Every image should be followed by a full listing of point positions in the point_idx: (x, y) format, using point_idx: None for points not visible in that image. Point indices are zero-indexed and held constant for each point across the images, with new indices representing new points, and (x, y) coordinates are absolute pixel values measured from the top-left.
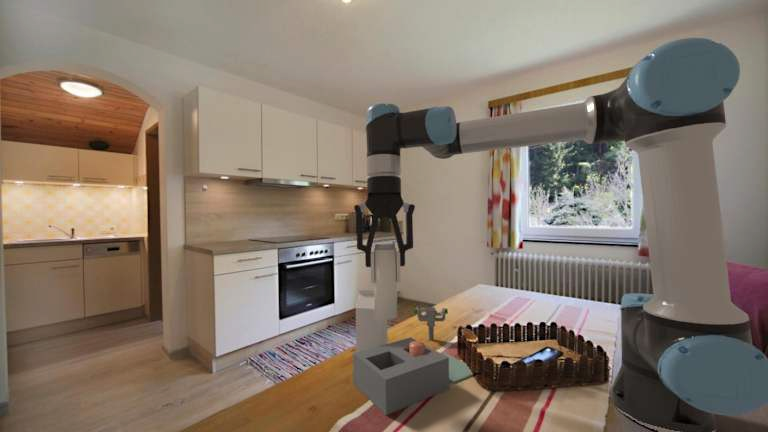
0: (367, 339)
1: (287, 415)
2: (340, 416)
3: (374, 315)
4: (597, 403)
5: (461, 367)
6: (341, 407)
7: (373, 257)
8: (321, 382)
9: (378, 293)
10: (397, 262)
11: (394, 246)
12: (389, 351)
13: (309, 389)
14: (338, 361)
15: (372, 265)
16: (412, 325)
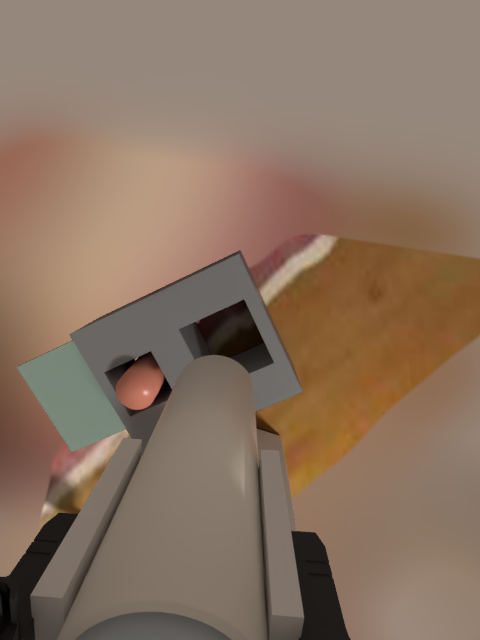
0: (258, 464)
1: (422, 278)
2: (324, 261)
3: None
4: None
5: (52, 386)
6: (321, 287)
7: (274, 577)
8: (358, 378)
9: (242, 411)
10: (94, 523)
11: None
12: None
13: (382, 356)
14: (319, 455)
15: (278, 522)
16: None
